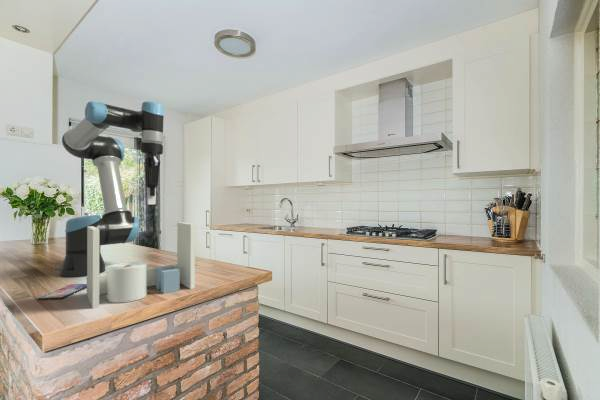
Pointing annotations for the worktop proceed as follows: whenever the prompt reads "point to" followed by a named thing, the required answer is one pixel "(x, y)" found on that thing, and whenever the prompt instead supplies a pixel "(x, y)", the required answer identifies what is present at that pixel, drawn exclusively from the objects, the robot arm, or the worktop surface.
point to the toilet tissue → (126, 281)
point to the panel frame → (184, 264)
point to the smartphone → (64, 292)
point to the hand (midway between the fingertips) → (151, 204)
